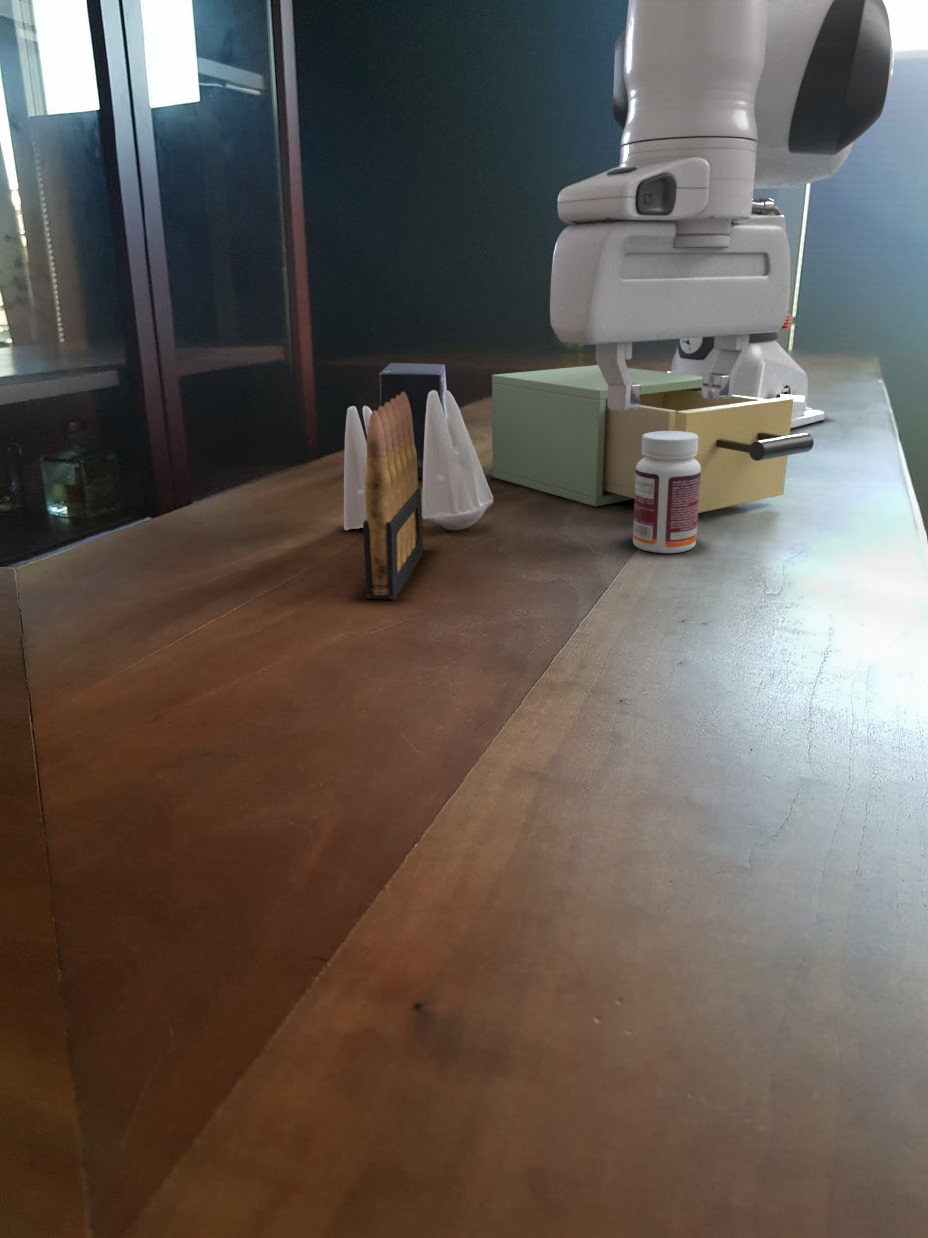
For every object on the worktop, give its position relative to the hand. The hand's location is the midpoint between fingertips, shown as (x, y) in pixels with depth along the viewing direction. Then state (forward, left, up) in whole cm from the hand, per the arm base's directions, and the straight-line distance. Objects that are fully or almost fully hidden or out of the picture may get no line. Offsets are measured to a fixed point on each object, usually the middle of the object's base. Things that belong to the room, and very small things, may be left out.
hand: (671, 404), depth 68 cm
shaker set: (+12, -16, -11) cm, 23 cm away
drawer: (-11, -8, -10) cm, 17 cm away
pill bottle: (0, 0, -11) cm, 11 cm away
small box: (0, -36, -11) cm, 38 cm away
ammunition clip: (+20, -6, -11) cm, 23 cm away
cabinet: (-11, -20, -11) cm, 25 cm away
